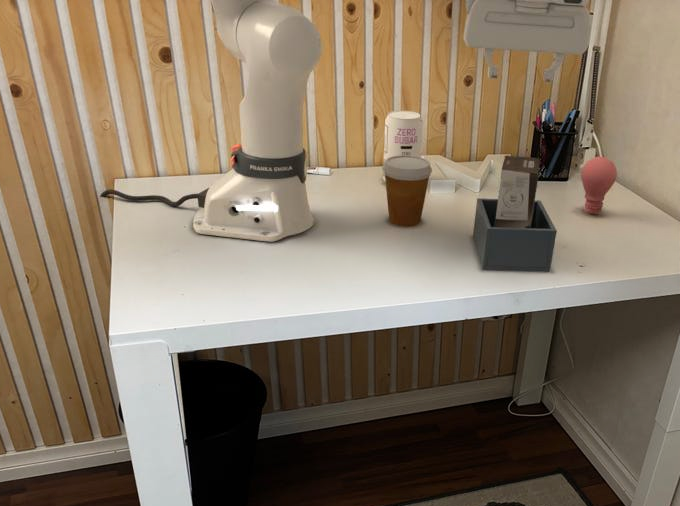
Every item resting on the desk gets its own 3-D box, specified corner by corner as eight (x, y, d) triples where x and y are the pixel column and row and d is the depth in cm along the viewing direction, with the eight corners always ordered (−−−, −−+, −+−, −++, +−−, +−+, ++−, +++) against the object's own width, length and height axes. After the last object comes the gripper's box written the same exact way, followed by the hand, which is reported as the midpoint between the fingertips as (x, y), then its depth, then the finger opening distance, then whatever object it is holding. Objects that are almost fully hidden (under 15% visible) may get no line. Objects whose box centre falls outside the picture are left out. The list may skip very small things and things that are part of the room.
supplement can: (403, 174, 170) (406, 108, 162) (426, 184, 165) (431, 116, 157) (375, 180, 166) (377, 112, 158) (398, 191, 161) (401, 121, 153)
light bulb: (573, 217, 153) (583, 160, 147) (575, 205, 159) (585, 150, 153) (608, 221, 152) (619, 164, 146) (608, 209, 158) (620, 154, 152)
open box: (482, 269, 129) (487, 228, 125) (472, 236, 141) (477, 198, 137) (549, 271, 130) (556, 230, 126) (534, 238, 142) (540, 200, 138)
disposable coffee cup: (371, 219, 146) (372, 160, 139) (405, 208, 152) (407, 151, 145) (404, 234, 140) (407, 173, 134) (438, 223, 146) (442, 163, 140)
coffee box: (525, 261, 131) (538, 173, 123) (489, 256, 132) (500, 168, 123) (528, 241, 139) (541, 157, 130) (494, 237, 140) (505, 153, 131)
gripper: (469, -16, 112) (460, 79, 119) (600, -6, 113) (583, 87, 121) (465, -20, 117) (456, 71, 125) (590, -11, 119) (574, 79, 126)
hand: (520, 79), depth 123 cm, fingers open, 8 cm apart
